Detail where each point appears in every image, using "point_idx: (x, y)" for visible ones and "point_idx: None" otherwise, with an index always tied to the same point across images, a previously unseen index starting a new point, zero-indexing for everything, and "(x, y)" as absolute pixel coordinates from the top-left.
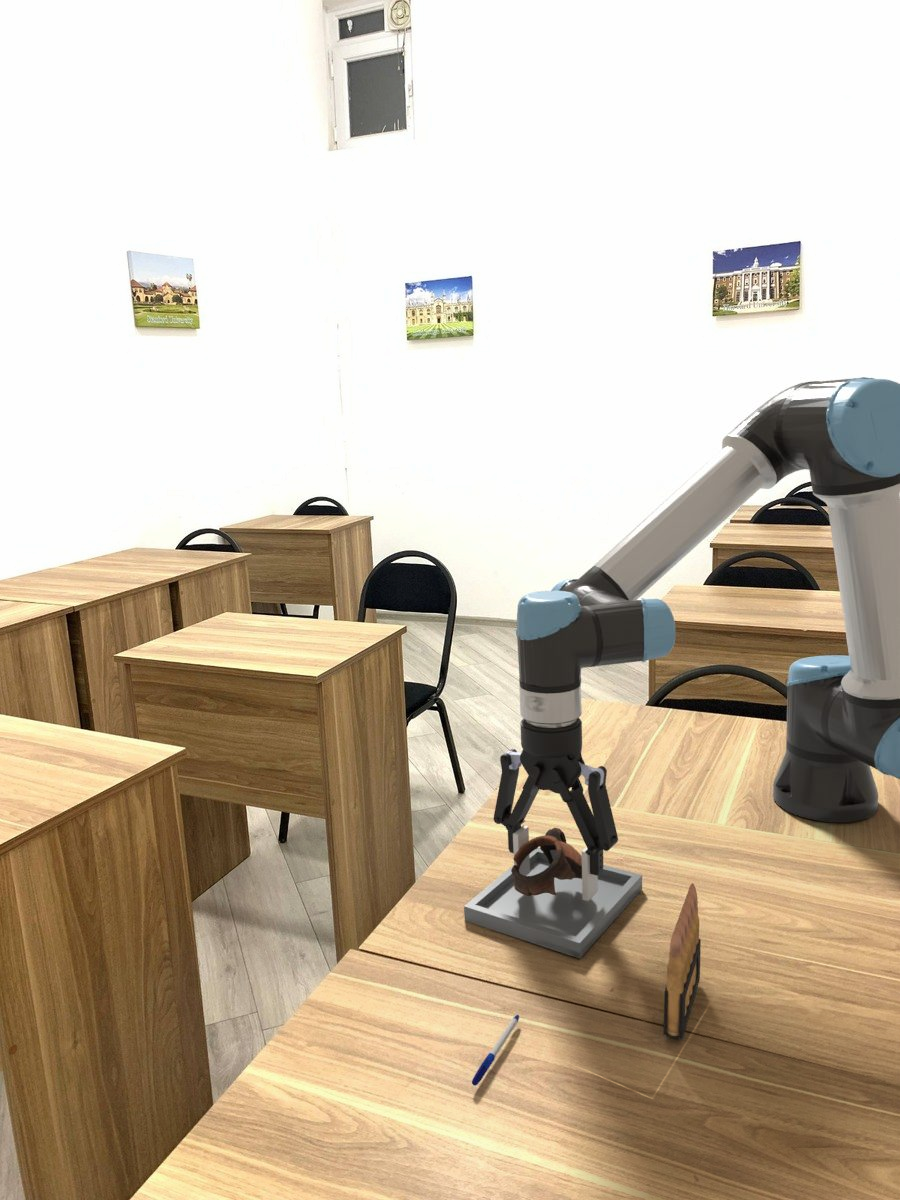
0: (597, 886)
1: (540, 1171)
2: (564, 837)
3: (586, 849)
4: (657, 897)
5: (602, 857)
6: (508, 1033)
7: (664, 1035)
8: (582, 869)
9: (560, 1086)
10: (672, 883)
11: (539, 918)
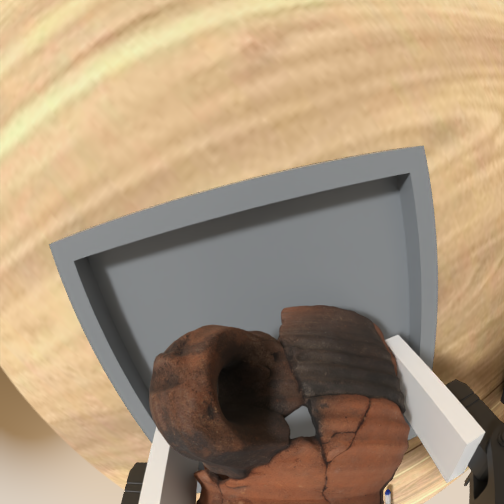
0: (406, 343)
1: (440, 488)
2: (217, 362)
3: (459, 470)
4: (434, 154)
5: (484, 409)
6: (390, 498)
7: (501, 401)
8: (422, 440)
9: (437, 472)
10: (420, 77)
11: (306, 429)
